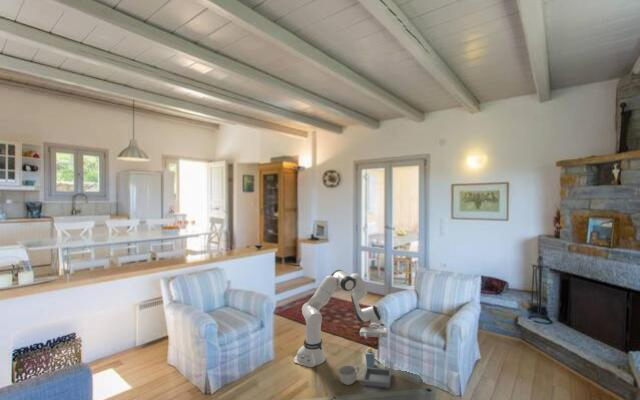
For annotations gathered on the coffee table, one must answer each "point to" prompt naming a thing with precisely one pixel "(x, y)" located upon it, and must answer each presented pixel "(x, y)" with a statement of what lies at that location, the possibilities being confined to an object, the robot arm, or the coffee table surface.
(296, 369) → the coffee table surface
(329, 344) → the coffee table surface
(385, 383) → the tray
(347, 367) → the teacup
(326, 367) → the coffee table surface
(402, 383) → the coffee table surface
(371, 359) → the shaker
